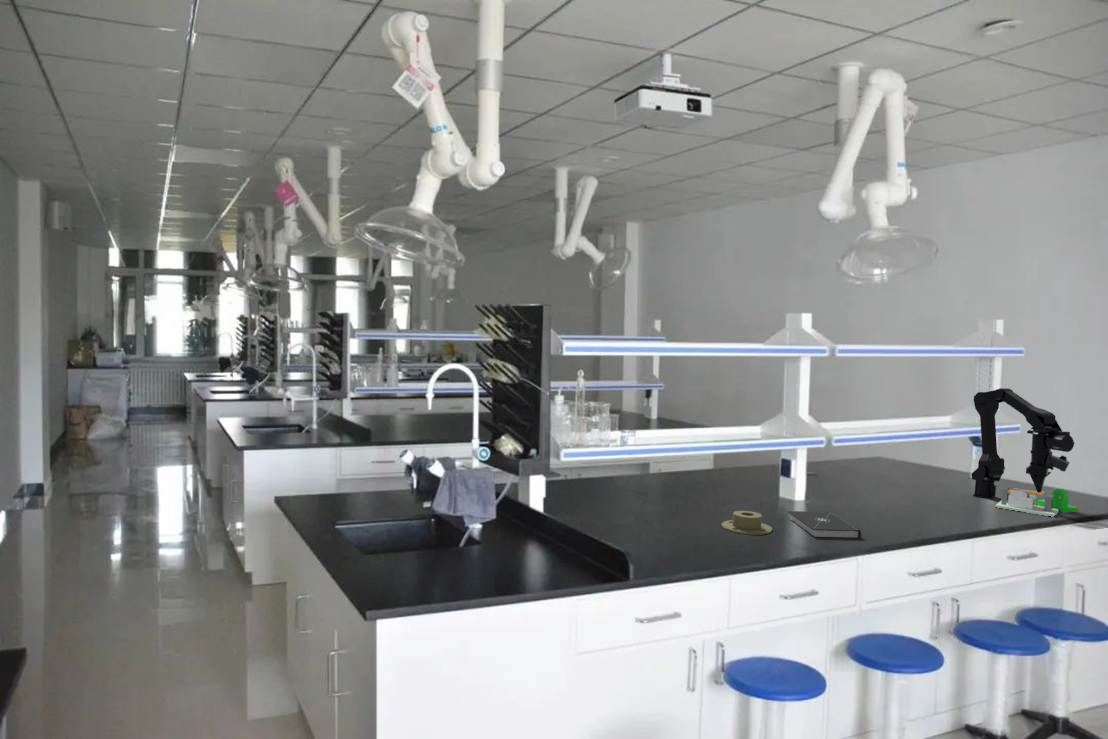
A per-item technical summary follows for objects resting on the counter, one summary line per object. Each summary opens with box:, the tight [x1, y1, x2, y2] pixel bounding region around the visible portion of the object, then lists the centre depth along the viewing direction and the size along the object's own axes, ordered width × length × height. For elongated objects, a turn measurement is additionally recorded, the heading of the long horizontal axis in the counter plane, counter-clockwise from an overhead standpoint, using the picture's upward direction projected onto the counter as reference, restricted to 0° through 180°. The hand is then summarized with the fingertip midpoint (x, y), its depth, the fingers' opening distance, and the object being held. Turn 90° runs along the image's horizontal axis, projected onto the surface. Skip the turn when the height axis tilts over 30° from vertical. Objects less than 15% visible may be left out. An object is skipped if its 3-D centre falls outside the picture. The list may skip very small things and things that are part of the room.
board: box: [995, 500, 1060, 518], centre depth 291 cm, size 18×12×1 cm, turn 52°
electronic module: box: [1000, 486, 1053, 512], centre depth 291 cm, size 15×7×6 cm, turn 52°
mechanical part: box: [1036, 488, 1079, 513], centre depth 294 cm, size 12×6×8 cm, turn 9°
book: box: [787, 510, 862, 539], centre depth 253 cm, size 22×15×3 cm
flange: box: [721, 510, 773, 536], centre depth 250 cm, size 5×15×15 cm
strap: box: [1008, 489, 1046, 496], centre depth 291 cm, size 13×3×1 cm, turn 52°
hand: (1039, 491), depth 288 cm, fingers closed, pressing on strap
